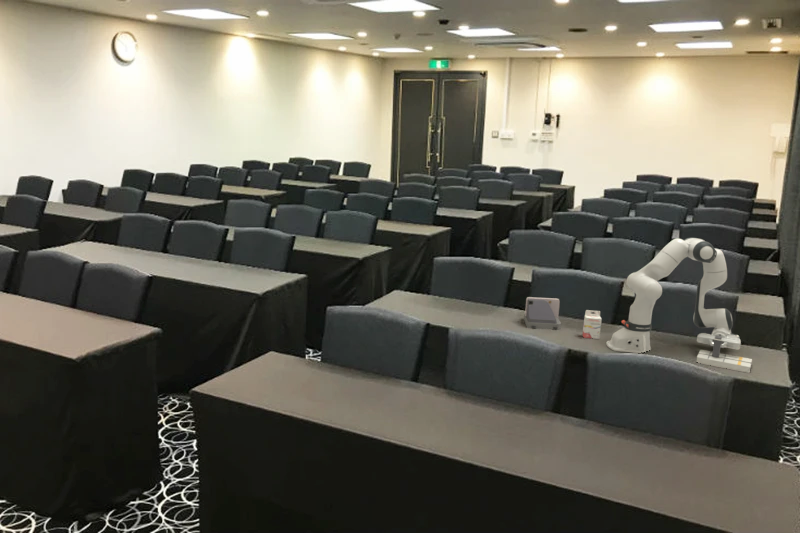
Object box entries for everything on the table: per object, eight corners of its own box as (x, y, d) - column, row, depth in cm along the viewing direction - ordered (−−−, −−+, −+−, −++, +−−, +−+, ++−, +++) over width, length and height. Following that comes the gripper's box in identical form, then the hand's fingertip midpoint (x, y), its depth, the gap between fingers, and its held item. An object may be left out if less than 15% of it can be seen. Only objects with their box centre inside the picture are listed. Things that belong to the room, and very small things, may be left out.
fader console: (696, 362, 344) (697, 356, 343) (699, 354, 356) (700, 349, 355) (749, 373, 333) (750, 367, 332) (751, 364, 344) (752, 358, 343)
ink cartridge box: (583, 338, 376) (586, 312, 372) (582, 335, 380) (584, 309, 377) (599, 339, 375) (602, 313, 371) (598, 336, 380) (600, 310, 376)
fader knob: (711, 360, 345) (714, 337, 342) (712, 357, 348) (715, 335, 346) (718, 361, 343) (721, 338, 340) (719, 358, 347) (722, 336, 344)
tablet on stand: (560, 321, 405) (562, 296, 402) (560, 331, 386) (563, 306, 382) (523, 317, 410) (525, 293, 406) (522, 328, 390) (524, 302, 386)
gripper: (699, 328, 359) (695, 335, 348) (742, 336, 349) (740, 343, 338) (697, 340, 361) (693, 347, 349) (740, 347, 351) (738, 355, 339)
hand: (717, 345), depth 343 cm, fingers closed on fader knob, 3 cm apart
